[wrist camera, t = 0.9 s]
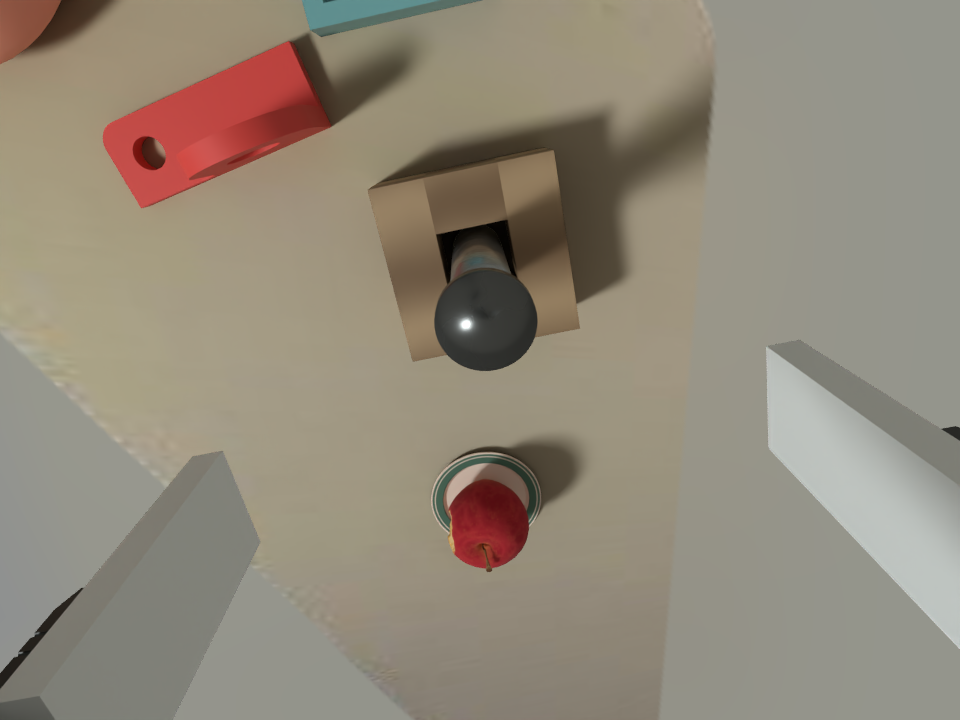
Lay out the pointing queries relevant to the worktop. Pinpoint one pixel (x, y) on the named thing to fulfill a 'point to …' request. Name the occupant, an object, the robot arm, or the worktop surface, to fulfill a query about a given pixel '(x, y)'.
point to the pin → (484, 305)
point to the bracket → (217, 125)
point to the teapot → (23, 24)
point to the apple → (486, 507)
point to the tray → (366, 12)
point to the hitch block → (467, 203)
